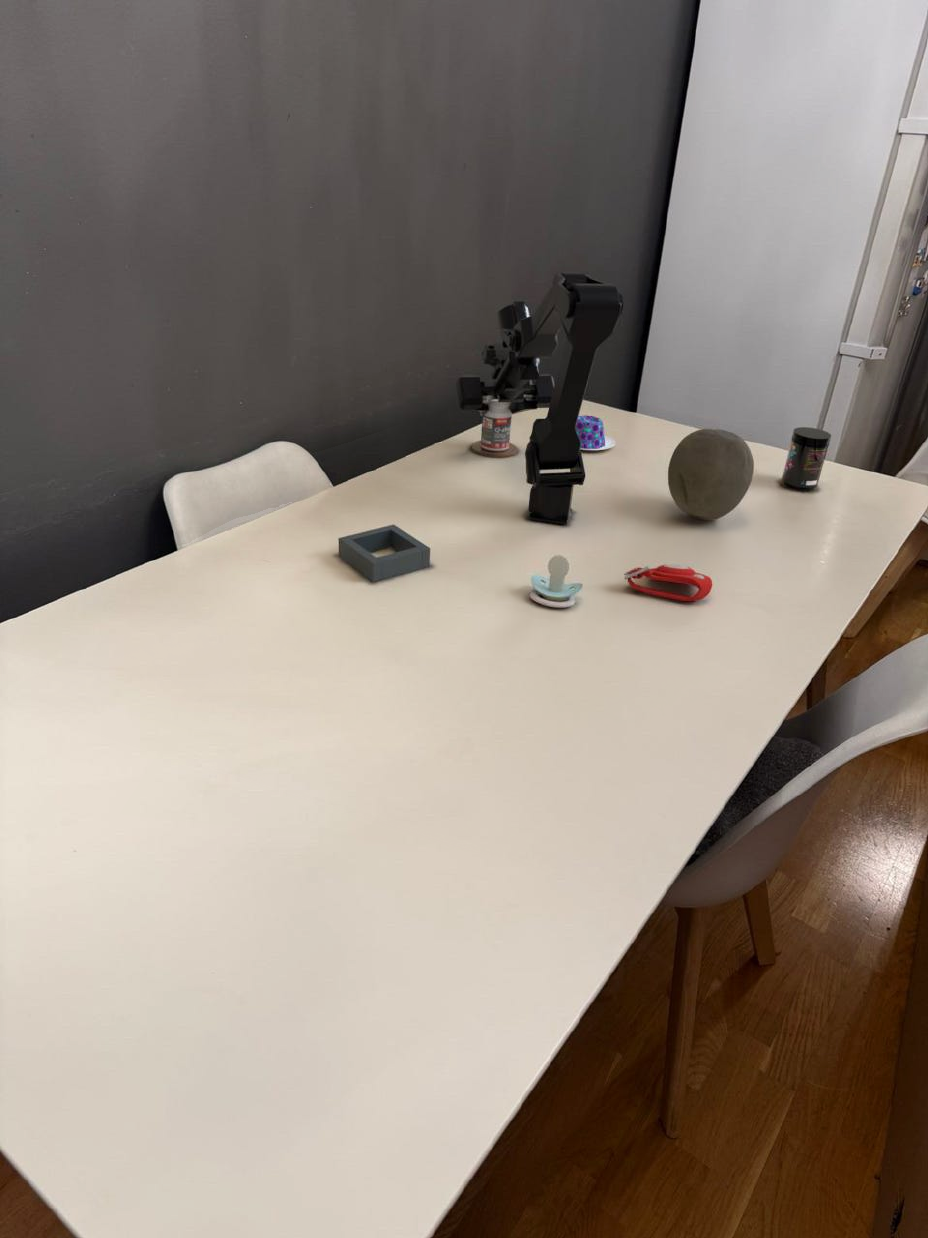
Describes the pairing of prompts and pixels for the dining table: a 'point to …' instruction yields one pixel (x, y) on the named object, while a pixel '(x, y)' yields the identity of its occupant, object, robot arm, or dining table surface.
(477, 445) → the coaster
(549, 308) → the robot arm
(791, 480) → the supplement container
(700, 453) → the grey brown round stone
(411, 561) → the bottle stand
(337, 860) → the dining table surface
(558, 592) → the pacifier
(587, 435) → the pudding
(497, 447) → the pill bottle
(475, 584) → the dining table surface
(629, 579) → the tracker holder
